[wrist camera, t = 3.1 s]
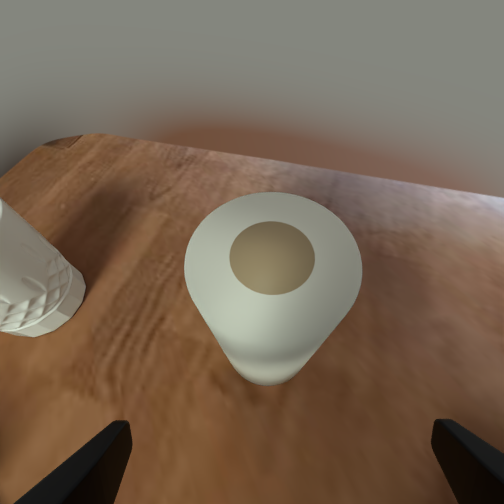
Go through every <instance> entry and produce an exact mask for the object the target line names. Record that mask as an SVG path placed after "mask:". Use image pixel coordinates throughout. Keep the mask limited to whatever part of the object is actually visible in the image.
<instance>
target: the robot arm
mask: <svg viewBox="0 0 504 504" xmlns="http://www.w3.org/2000/svg"><path fill="white" fill-rule="evenodd" d="M431 445H432V449H433V452H434V454H435V456H436V458H437V460H438V462H439V464H440V466H441V468H442V470H443V473H444V475H445V477H446V479H447V481H448V483H449V485H450V487H451V489H452V491H453V493H454V495H455V497H456V500H457V502H458V504H504V454H503V453H502V452H500V451H499V450H497V449H496V448H494V447H493V446H491V445H490V444H488V443H487V442H485V441H484V440H482V439H481V438H479V437H478V436H476V435H475V434H473V433H472V432H470V431H469V430H467V429H466V428H464V427H463V426H461V425H460V424H458V423H457V422H455V421H453V420H451V419H436V420H435V421H434V425H433V431H432V438H431ZM131 450H132V436H131V430H130V424H129V422H128V421H126V420H116V421H113V422H112V423H110V424H109V425H108V426H107V427H106V428H104V429H103V430H102V431H101V432H99V433H98V434H97V435H96V436H95V437H93V438H92V439H91V440H90V441H89V442H87V443H86V444H85V445H84V446H83V447H81V448H80V449H79V450H78V451H76V452H75V453H74V454H73V455H72V456H70V457H69V458H68V459H67V460H66V461H64V462H63V463H62V464H61V465H60V466H58V467H57V468H56V469H55V470H53V471H52V472H51V473H50V474H49V475H47V476H46V477H45V478H44V479H43V480H41V481H40V482H39V483H38V484H37V485H35V486H34V487H33V488H32V489H30V490H29V491H28V492H27V493H26V494H24V495H23V496H22V497H21V498H20V499H18V500H17V501H16V502H15V503H14V504H114V501H115V499H116V496H117V493H118V490H119V487H120V484H121V481H122V478H123V475H124V472H125V469H126V466H127V463H128V460H129V457H130V454H131Z"/></svg>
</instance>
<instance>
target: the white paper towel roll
mask: <svg viewBox="0 0 504 504" xmlns="http://www.w3.org/2000/svg"><path fill="white" fill-rule="evenodd" d="M184 271H185V280H186V284H187V288H188V291H189V293H190V296H191V298H192V300H193V301H194V303H195V305H196V307H197V308H198V310H199V311H200V313H201V315H202V316H203V318H204V320H205V321H206V323H207V325H208V326H209V328H210V330H211V331H212V333H213V334H214V336H215V338H216V339H217V341H218V343H219V344H220V346H221V348H222V349H223V351H224V353H225V354H226V356H227V357H228V359H229V361H230V362H231V364H232V366H233V367H234V369H235V370H236V371H237V372H238V373H239V374H240V375H241V376H242V377H243V378H245V379H246V380H248V381H250V382H252V383H254V384H257V385H262V386H274V385H279V384H282V383H284V382H286V381H288V380H290V379H291V378H293V377H294V376H295V375H296V374H297V373H298V372H299V371H300V370H301V369H302V367H303V366H304V365H305V364H306V363H307V361H308V360H309V359H310V358H311V356H312V355H313V354H314V353H315V352H316V350H317V349H318V348H319V347H320V346H321V344H322V343H323V342H324V341H325V340H326V338H327V337H328V336H329V335H330V334H331V332H332V331H333V330H334V329H335V328H336V326H337V325H338V324H339V323H340V322H341V320H342V319H343V318H344V317H345V316H346V314H347V313H348V311H349V310H350V309H351V307H352V306H353V304H354V302H355V300H356V298H357V296H358V293H359V289H360V286H361V280H362V261H361V256H360V252H359V249H358V246H357V243H356V241H355V239H354V237H353V235H352V234H351V232H350V231H349V229H348V228H347V227H346V225H345V224H344V223H343V222H342V221H341V220H340V219H339V218H338V217H337V216H336V215H335V214H334V213H332V212H331V211H330V210H328V209H327V208H325V207H324V206H322V205H320V204H318V203H316V202H314V201H312V200H310V199H307V198H304V197H301V196H298V195H294V194H289V193H281V192H262V193H254V194H249V195H245V196H242V197H239V198H236V199H233V200H231V201H229V202H227V203H225V204H223V205H221V206H220V207H218V208H217V209H215V210H214V211H213V212H212V213H210V214H209V215H208V216H207V217H206V218H205V219H204V220H203V221H202V222H201V223H200V225H199V226H198V227H197V229H196V230H195V232H194V234H193V235H192V237H191V239H190V242H189V244H188V247H187V251H186V255H185V264H184Z"/></svg>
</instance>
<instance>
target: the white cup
mask: <svg viewBox="0 0 504 504" xmlns="http://www.w3.org/2000/svg"><path fill="white" fill-rule="evenodd" d="M85 289H86V285H85V282H84V279H83V276H82V274H81V273H80V272H79V271H78V270H77V269H76V268H75V267H73V266H72V265H71V264H70V263H69V262H68V261H67V260H66V259H65V258H64V257H63V256H62V254H61V253H60V252H59V251H58V250H57V249H56V248H55V247H54V246H53V245H52V244H50V243H49V242H48V241H47V240H46V239H45V238H44V237H43V236H42V235H41V234H40V233H39V232H38V231H37V230H36V229H35V228H34V227H32V226H31V225H30V224H29V223H28V222H27V221H26V220H25V219H24V218H22V217H21V216H20V215H19V214H18V213H17V212H16V211H15V210H14V209H12V208H11V207H10V206H9V205H8V204H7V203H6V202H5V201H4V200H3V199H1V198H0V331H2V332H6V333H9V334H13V335H17V336H27V337H37V336H40V335H43V334H46V333H49V332H52V331H54V330H56V329H57V328H58V327H60V326H61V325H62V324H64V323H65V322H66V321H68V320H69V319H70V318H71V317H72V316H73V315H74V313H75V312H76V310H77V309H78V308H79V306H80V305H81V303H82V301H83V297H84V293H85Z"/></svg>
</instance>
